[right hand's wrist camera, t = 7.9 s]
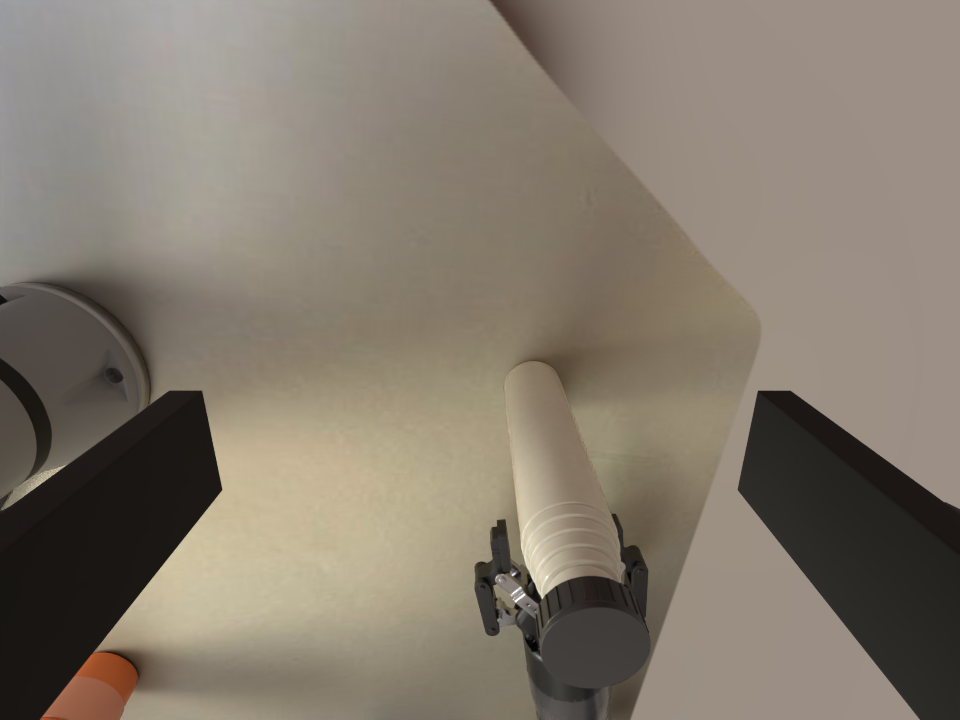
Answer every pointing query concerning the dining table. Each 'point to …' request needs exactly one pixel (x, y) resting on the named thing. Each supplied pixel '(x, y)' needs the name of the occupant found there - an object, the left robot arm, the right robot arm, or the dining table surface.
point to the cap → (591, 632)
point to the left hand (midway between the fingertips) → (553, 520)
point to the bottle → (555, 484)
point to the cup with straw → (96, 690)
